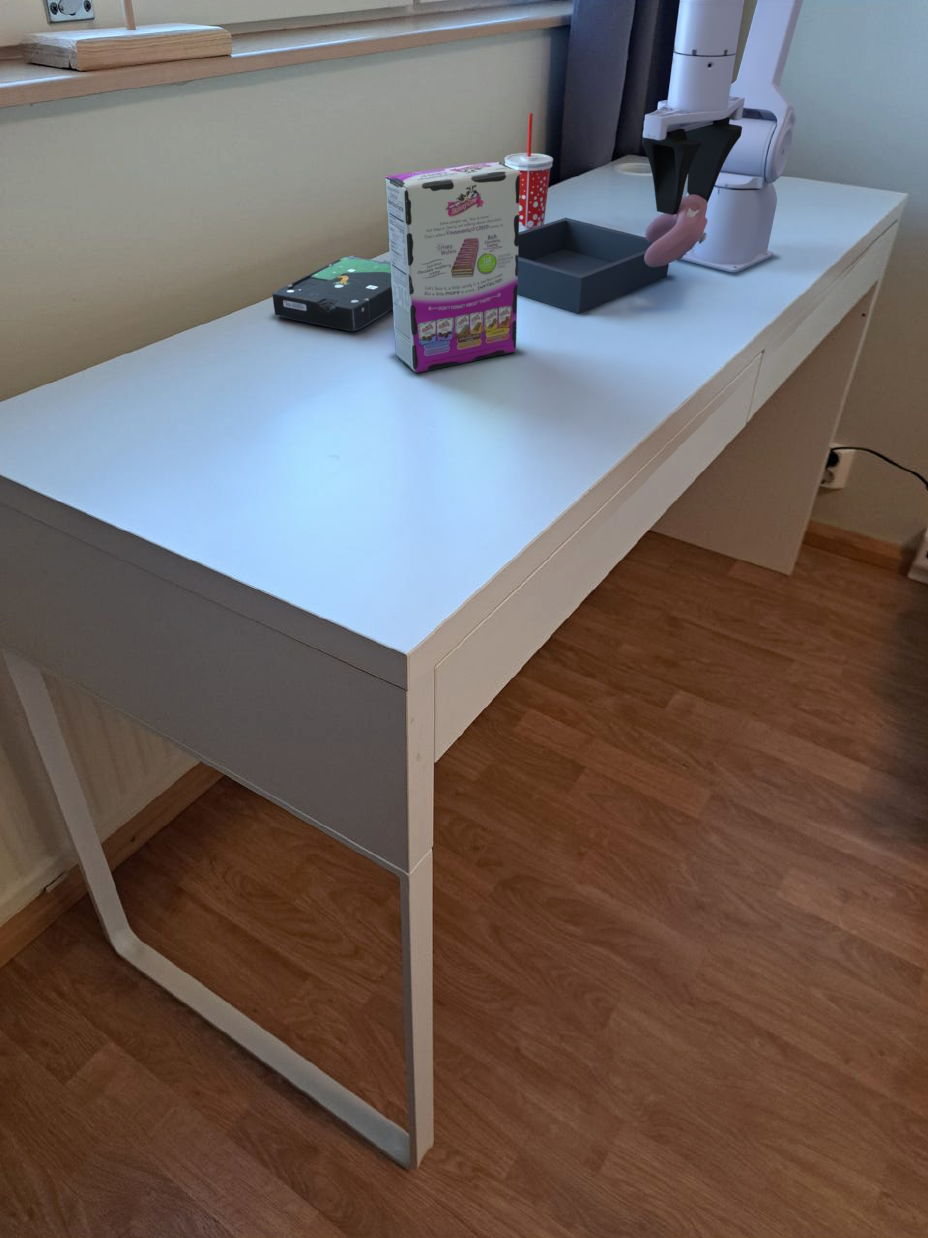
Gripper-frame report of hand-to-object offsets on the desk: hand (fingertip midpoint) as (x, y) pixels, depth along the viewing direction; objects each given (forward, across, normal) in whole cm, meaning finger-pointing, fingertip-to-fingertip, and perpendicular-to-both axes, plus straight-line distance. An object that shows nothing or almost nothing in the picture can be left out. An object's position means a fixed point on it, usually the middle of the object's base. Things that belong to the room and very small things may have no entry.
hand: (682, 206), depth 94 cm
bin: (+10, +1, -13) cm, 16 cm away
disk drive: (+10, +24, -25) cm, 36 cm away
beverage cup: (+10, -10, -29) cm, 32 cm away
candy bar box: (+10, +26, -7) cm, 29 cm away
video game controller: (+5, +1, 0) cm, 5 cm away
